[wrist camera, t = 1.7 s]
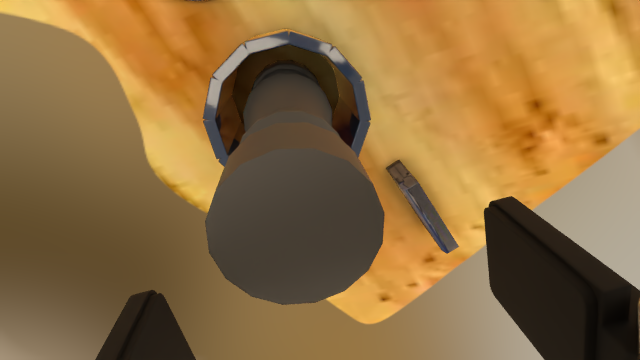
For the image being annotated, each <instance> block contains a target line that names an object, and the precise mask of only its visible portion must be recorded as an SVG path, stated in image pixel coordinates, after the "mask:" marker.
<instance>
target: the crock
mask: <svg viewBox="0 0 640 360" xmlns="http://www.w3.org/2000/svg"><path fill="white" fill-rule="evenodd" d="M285 45H292V46H295V47H299V48H302V49H305V50H308V51H311V52H315V53H318V54H321V55H322V56H323V57H324V59H325V60H326V61H327V62H328V63H329V64H330V65H331V66H332V67H333V69H334V73H335V78H336V83H337V87H338V92H339V99H338V102H337V105H336V108H335V111H334V115H333V118H332V128H333V129H334V130H335V131H336V132H337V133H338V134H339V136H340V138H341V139H342V140H343V141H344V142H345V143H346V144H347V145H348V146H349V147H350V148H351V149H352V150H353V151H354V152H355V153H356V155H357V157H359V154H360V152H361V149H362V146H363V143H364V140H365V137H366V134H367V132H368V129H369V126H370V122H369V121H370V120H371V118H370V112H369V107H368V101H367V96H366V90H365V85H364V81H363V80H362V77H361V76H360V74H359V73H358V72H357V71H356V70H355V69H354V67H353V66H352V65H351V64H350V63H349V62H348V61H347V59H346V58H345V57H344V56H343V55H342V54H341V53H340V51H339V50H338V49H337V48H336V47H335V46H333V45H332V44H330V43H328V42H326V41H323V40H321V39H319V38H316V37H313V36H310V35H306V34H303V33H300V32H297V31H294V30H291V29H287V30H286V29H281V30H277V31H273V32H269V33H265V34H261V35H257V36H254V37H252V38H251V39H249V40H247V41H245V42H243V43H242V44H241V45H240V46H239V47H238V48H237V49H236V50H235V51H234V52H233V53H232V54H231V55H230V56H229V57H228V58H227V59H226V60H225V61H224V63H223V64H222V65H221V66H220V67H219V68H218V69H217V70H216V71H215V72H214V73H213V74H212V75H213V76H212V77H211V78H210V84H209V89H208V94H207V99H206V104H205V109H204V114H203V119H204V121H203V123H204V125H205V128H206V131H207V134H208V137H209V139H210V142H211V145H212V148H213V150H214V153H215V156H216V159H219V162H220V163H221V164H222V165H223V166H224V167H225V165H226V163H227V160H228V157H229V156H230V155H231V154H232V152H233V151H234V150H235V149H236V148H237V147H238V146H239V144H240V142H241V139H242V136H243V135H244V134H245V133H246V131H245V129H244V123H242V122H241V120H240V117H239V114H238V111H237V107H236V104H235V101H234V98H233V95H232V93H233V89H234V84H235V79H236V75H237V70H238V66H239V65H240V64H241V63H242V62H243V61H244V60H245V59H246V58H247V57H248V56H249V55H250V54H253V53H257V52H261V51H265V50H269V49H273V48H277V47H281V46H285Z"/></svg>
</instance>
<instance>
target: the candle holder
mask: <svg viewBox="0 0 640 360" xmlns="http://www.w3.org/2000/svg"><path fill="white" fill-rule="evenodd" d="M243 116H244V129H245V131H246V133H245V134H244V135H243V136H242V139H241V142H240V144H239V146H238V147H237V148H236V149H235V150H234V151H233V152H232V154H231V155H230V156H229V157H228V160H227V163H226V165H225V168H224V170H223V173H222V176H221V178H220V181H219V183H218V186H217V188H216V191H215V194H214V197H213V200H212V203H211V206H210V209H209V212H208V215H207V218H206V221H205V224H206V232H207V240H208V247H209V253H210V255H211V256H212V258H213V259H214V261H215V262H216V264H217V265H218V267H219V269H220V270H221V272H222V273H223V275H224V276H225V278H226V279H227V280H229V281H230V282H231V283H233V284H234V285H236V286H237V287H239V288H240V289H242V290H243V291H245V292H246V293H248V294H249V295H250V296H252V297H255V298H259V299H263V300H267V301H271V302H275V303H278V304H282V305H284V304H285V305H286V304H301V303H315V302H318V301H320V300H323V299H325V298H328V297H330V296H333V295H335V294H338V293H340V292H343V291H345V290H346V289H347V288H349V287H350V286H351V285H352V284H353V283H354V282H355V281H357V280H358V279H359V278H360V277H361V276H362V275H364V274H365V273H366V272H367V271H368V270H369V268H370V266H371V264H372V262H373V260H374V259H375V257H376V255H377V253H378V251H379V249H380V247H381V245H382V242H383V228H384V211H383V208H382V206H381V203H380V201H379V198H378V196H377V193H376V191H375V188H374V186H373V183H372V182H371V180H370V178H369V176H368V175H367V173H366V171H365V169H364V167H363V166H362V164H361V162H360V160H359V159H358V157H357V155H356V153H355V152H354V151H353V150H352V149H351V148H350V147H349V146H348V145H347V144H346V143H345V142H344V141H343V140H342V139H341V138H340V136H339V134H338V133H337V132H336V131H335V130H334V129H333V128H332V109H331V106H330V104H329V101H328V99H327V96H326V94H325V92H324V91H323V90H322V89H321V87H320V85H319V82H318V80H317V79H316V77H315V75H314V74H313V73H312V72H311V71H310V70H309V69H308V68H307V67H306V66H305V65H302V64H300V63H297V62H295V61H293V60H278V61H276V62H274V63H272V64H269V65H267V66H266V67H265V68H264V69H263V70H262V71H261V72H260V73H259V74H258V75H257V77H256V79H255V81H254V84H253V87H252V90H251V93H250V94H249V96H248V99H247V102H246V105H245V108H244V111H243Z"/></svg>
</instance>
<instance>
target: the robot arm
mask: <svg viewBox="0 0 640 360" xmlns="http://www.w3.org/2000/svg"><path fill="white" fill-rule="evenodd" d="M484 220H485V232H486V244H487V256H488V268H489V280H490V287H491V290H492V292H493V294H494V296H495V297H496V299H497V300H498V301H499V302H500V304H501V305H502V306H503V307H504V309H505V310H506V311H507V313H508V314H509V315H510V316H511V318H512V319H513V320H514V322H515V323H516V324H517V325H518V326H519V328H520V329H521V330H522V332H523V333H524V334H525V335H526V337H527V338H528V339H529V341H530V342H531V343H532V344H533V346H534V347H535V348H536V349H537V351H538V352H539V353H540V355H541V356H542V357H543V358H544V360H640V291H639V290H638V289H637V288H636V287H634V286H633V285H632V284H630V283H629V282H628V281H626V280H625V279H623V278H622V277H621V276H619V275H618V274H617V273H615V272H614V271H613V270H611V269H610V268H609V267H607V266H606V265H604V264H603V263H602V262H601V261H599V260H598V259H596V258H595V257H594V256H592V255H591V254H590V253H588V252H587V251H586V250H584V249H583V248H582V247H580V246H579V245H577V244H576V243H575V242H573V241H572V240H571V239H569V238H568V237H567V236H565V235H564V234H563V233H561V232H560V231H558V230H557V229H556V228H554V227H553V226H552V225H550V224H549V223H548V222H546V221H545V220H544V219H542V218H541V217H540V216H538V215H537V214H536V213H534V212H533V211H532V210H530V209H529V208H527V207H526V206H525V205H523V204H522V203H521V202H519V201H518V200H517V199H515V198H514V197H512V196H511V197H506V198H502V199H498V200H494V201H491V202H490V204H489V207H488V208H485V210H484ZM96 360H196V359H195V357H194V355H193V353H192V351H191V349H190V347H189V345H188V343H187V341H186V339H185V337H184V335H183V333H182V331H181V329H180V327H179V325H178V323H177V321H176V319H175V317H174V315H173V313H172V311H171V309H170V307H169V305H168V303H167V301H166V299H165V297H164V296H163V295H162V294H161V293H159V294H157V293H156V292H155V291H154V290H150V291H146V292H142V293H139V294H135V295H132V296H131V297H130V298H129V299H128V302H127V303H126V305H125V307H124V309H123V310H122V312H121V314H120V316H119V318H118V319H117V321H116V323H115V325H114V327H113V329H112V330H111V332H110V334H109V336H108V338H107V339H106V341H105V343H104V345H103V347H102V349H101V350H100V352H99V354H98V356H97V358H96Z"/></svg>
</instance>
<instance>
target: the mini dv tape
mask: <svg viewBox="0 0 640 360" xmlns="http://www.w3.org/2000/svg"><path fill="white" fill-rule="evenodd" d="M386 169H387V170H388V172H389V173H390V175H391V176H392V178H393V179H394V181H395V182H396V184H397V185H398V187H399V188H400V190H401V191H402V193H403V194H404V196H405V197H406V199H407V200H408V202H409V203H410V205H411V206H412V208H413V210H414V211H415V213H416V214H417V216H418V217H419V219H420V220H421V222H422V223H423V225H424V226H425V227H426V229H427V230H428V232H429V233H430V234H431V236H432V237H433V239H434V240H435V241H436V243H437V244H438V246H439V247H440V248H441V250H442V251H444V252H445V253H449V252H451V251H452V250H454V249H456V248H457V247H459V246H458V244H457V243H456V241H455V240H454V238H453V236H452V235H451V233H450V232H449V230H448V229H447V227H446V225H445V224H444V222H443V221H442V219H441V218H440V216H439V214H438V213H437V211H436V210H435V208H434V206H433V205H432V203H431V202H430V200H429V199H428V197H427V195H426V194H425V192H424V191H423V189H422V188H421V186H420V184H419V183H418V181H417V180H416V179H415V178H414V177H413V176H412V174H411V173H410V172H409V171H408V170H407V169H406V167H405V166H404V165H403V164H402V163H401V162H400V160H398V161H396V162H395V163H393V164H392V165H390V166H389V167H387V168H386Z"/></svg>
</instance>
